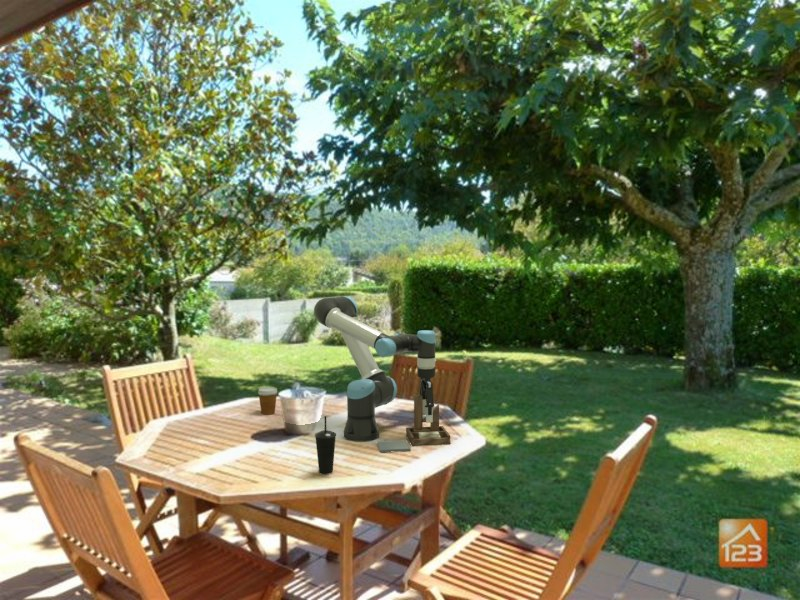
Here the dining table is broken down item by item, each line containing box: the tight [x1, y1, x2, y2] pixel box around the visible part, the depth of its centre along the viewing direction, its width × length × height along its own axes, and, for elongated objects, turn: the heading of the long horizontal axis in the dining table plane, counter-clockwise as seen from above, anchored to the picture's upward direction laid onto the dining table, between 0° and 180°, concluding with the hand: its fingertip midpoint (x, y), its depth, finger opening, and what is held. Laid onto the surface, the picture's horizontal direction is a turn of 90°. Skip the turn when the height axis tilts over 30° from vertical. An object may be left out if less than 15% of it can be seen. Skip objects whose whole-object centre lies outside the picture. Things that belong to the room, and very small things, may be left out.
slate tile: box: [376, 439, 412, 453], centre depth 234 cm, size 12×11×1 cm
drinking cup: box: [314, 415, 337, 475], centre depth 207 cm, size 8×8×20 cm
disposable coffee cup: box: [257, 386, 278, 416], centre depth 286 cm, size 10×10×12 cm
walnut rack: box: [405, 425, 451, 447], centre depth 244 cm, size 16×14×4 cm
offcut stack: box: [418, 432, 441, 439], centre depth 240 cm, size 9×3×4 cm, turn 98°
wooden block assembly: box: [413, 394, 440, 432], centre depth 246 cm, size 4×11×18 cm, turn 88°
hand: (426, 418), depth 246 cm, fingers open, 12 cm apart
